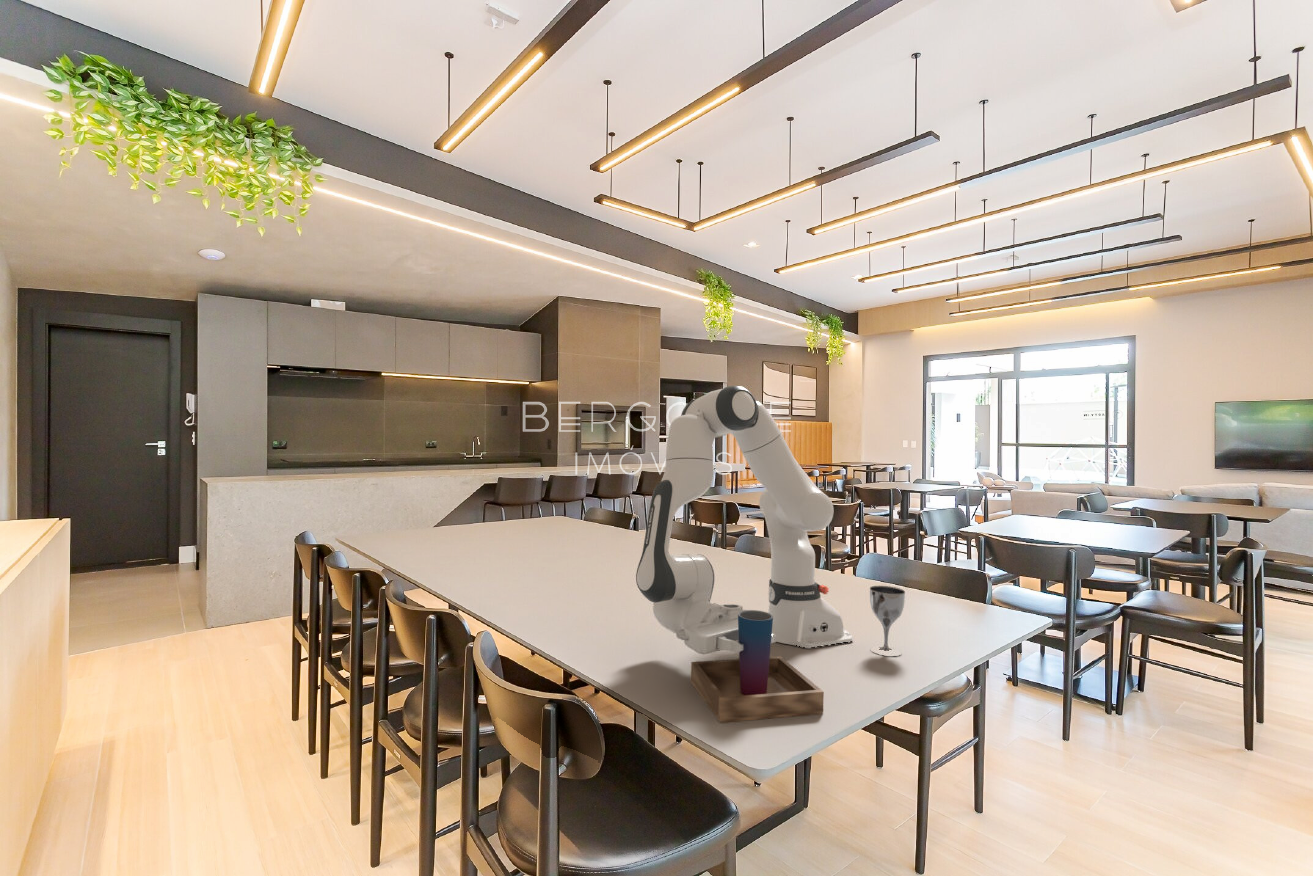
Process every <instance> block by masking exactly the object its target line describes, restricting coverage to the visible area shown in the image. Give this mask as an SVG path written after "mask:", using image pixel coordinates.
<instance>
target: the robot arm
mask: <svg viewBox="0 0 1313 876" xmlns="http://www.w3.org/2000/svg"><path fill="white" fill-rule="evenodd" d="M729 434H731V435H732V437H734V439H735V440H736V442H737V445H738V447H739V450H740V451H741V453H742V455H743V457H744V459H745V461H746V463H747V464H748V467H749V469H750V470H751V472H752V475H754V478H755V479H756V480H757V481H758V482H759V483H760V484H761V485H762V486H763V487H764V488H765V489H764V490H763V492H762V493H761V494H760V497H759V500H758V502H759V503H758V504H759V509H760V512H761V513H762V515H763V517H764V519H765V524H766V528H767V534H768V538H769V543H770V555H771V556H770V579H769V581H768V602H769V604H768V611H767V613H770V614H772V615H773V625H772V637H771V645H772V644H775V643H781V644H784V645H785V644H786V645H790V646H791V645H792V646H796V645H797V646H796V647H799V646H800V647H799V648H803V647H805V648H804V649H812V648H811V647H815V648H818V647H817V646H821V645H828V646H830V645H829V644H835V645H837V644H836V643H841V642H848V643H850V642H849V641H852V642H854V641H853V635H852V633H850V632H849V631H848V630H847V629H844V623H843V618H842V616H841V614H840V612H839V611H838V610H837V609H835V607H834V606H832V605H831V604H830V603H828V602H827V601H826V600H825V599H824V598H822V595H821V594H823V595H828V593H829V591H830V590H829V589H830V588H829V587H828V586H826V585H823V584H819V583H817V582H816V581H815V580H816V579H815V577H816V572H815V571H816V553H815V549H814V548H813V546H812V544H811V542H810V539H809V535H808V532H816V531H822V530H824V529H826V528H827V527H828V526H829V525H830V524H831V522H832V520H833V518H834V513H835V512H834V511H835V510H834V503H833V502H832V499H831V498H830V497H829V496H828V495H827V494H826V493H824V492H823V491H822V490H821V489H820V488H819V487H818V486H817V485H816V484H815V483H814V481H813V480H812V479H811V478H810V476H809V475H808V474H807V473H806V472H805V470H804V469H803V468H802V467H801V465H800V463H799V462H798V461H797V460H796V458H795V456H794V455H793V453H792V451H791V449H790V447H789V445H788V444H787V441H786V439H785V438H784V436H783V434H782V431H781V430H780V428H779V426H778V425H777V423H776V421H775V419H774V418H773V417H772V415H771V414H770V412H769V411H768V410H767V408H766V406H764V404H763V403H761V402H760V401H758V400H756V398H755V396H754V395H753V394H752V393H751V391H749V390H748V389H747V388H745V387H744V386H742V385H741V386H739V385H729V386H725V387H724V388H719V389H716V390H712V391H710V392H707V393H705V394H704V395H702V396H700V397H698V398H694V399H692V400H691V401H689V402H688V403H687V404H686V405H685V406H684V408H683V410H682V412H681V414H680V416H678V417H675V418H674V419H673V420H672V422H671V424H670V425H669V430H668V435H667V441H666V450H665V467H664V473H663V475H662V478H661V481H659V482H658V483H657V484H656V485H655V487H654V489H653V492H652V495H651V500H650V504H649V510H648V517H647V523H646V529H645V535H644V542H643V545H642V547H643V548H642V552H641V556H640V560H639V561H638V564H637V565H638V566H637V569H636V573H635V581H636V585H637V588H638V590H639V591H640V593H641V594H642V596H643V597H644V598H646V599H647V600H648V601H650V602H651V603H653V606H652V611H653V615H654V618H655V620H657V622H658V623H659V624H660V626H661V627H664V628H665V629H666V630H669V631H670V632H672V633H674V634H675V635H676V638H677V639H679V640H681V641H684V642H683V643H684V646H686V647H688V648H689V649H691V650H693V651H694V652H696V653H698V654H701V655H709V654H712V653H716V652H720V651H727V652H728V651H729V652H734V653H736V654H739V653H740V652H743V651H744V643H743V642H740V641H739V632H738V613H739V612H741V611H745V610H746V609H744V608H743V605H740V604H720V603H715V602H713V603H711V600H712V594H713V592H714V587H715V586H714V585H715V571H714V567H713V565H712V563H711V561H709V559H708V558H707V557H706V556H704V555H703V554H699V553H697V554H696V553H694V554H693V553H692V554H691V553H689V554H687V553H685V554H684V553H682V554H670V552H669V548H670V541H671V537H672V536H671V535H672V529H673V521H674V517H675V515H676V513H677V511H678V510H679V509H680V508H681V507H683V506H684V505H687V504H689V503H691V502H692V501H695V500H697V499H699V498H701V497H702V496H704V495H705V493H707V492H708V490H709V489H710V487H711V485H712V483H713V478H714V452H713V451H714V450H713V444H714V441H715V439H716V438H720V437H723V436H726V435H729Z"/></svg>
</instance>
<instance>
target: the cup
mask: <svg viewBox="0 0 1313 876" xmlns="http://www.w3.org/2000/svg"><path fill="white" fill-rule="evenodd" d="M744 610H745V611H741V612H739V613H738V632H739V641H740V642H743V643H744V651H743V652H740V653H738V656H739V657H738V659H739V660H740V689H741V693H742V694H743V695H758V694H767V683H768V672H769V660H770V657H771V650H772V649H771V648H772V647H771V645H772V644H771V637H772V625H773V615H772V614H770V613H768V611H764V610H755V609H744Z"/></svg>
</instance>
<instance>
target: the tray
mask: <svg viewBox="0 0 1313 876" xmlns="http://www.w3.org/2000/svg"><path fill="white" fill-rule="evenodd" d="M690 682H691V683H692V685H693V687H694V688H695V690H696V691H697V692H698V693H699V695H700V697H701V698H702V699H703V701H704V702H705V703H706V705H707V706H708V708H709V709H710V710H711V712H712V713H713V714H714V716H715V718H716V719H717V721H718V722H719V723H720V724H722V723H723V724H724V723H733V722H734V723H735V722H745V721H754V720H755V721H756V720H757V721H758V720H767V719H768V720H769V719H776V718H777V719H778V718H779V719H780V718H788V717H791V718H792V717H799V716H810V715H811V714H813V715H822V714H821V713H823V714H824V692H825V691H824V690H822V689H821V688H819V686H817V685H816V684H815V683H814V682H813V681H812V680H810V679H809V678H808V677H806V676H805V675H804V674H803V673H801V671H799V670H798V669H797V668H795V666H793V665H792V664H791V663H790V662H788V661H787V660H786V659H785V658H783V657H782V656H770V660H769V672H768V683H767V694H758V695H743V694H742V693H741V689H740V660H739V658H736V659H735V658H734V659H733V658H732V659H730V658H729V659H718V660H716V659H715V660H704V661H703V660H701V661H691V663H690ZM811 716H812V715H811Z"/></svg>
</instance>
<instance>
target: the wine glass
mask: <svg viewBox="0 0 1313 876" xmlns="http://www.w3.org/2000/svg"><path fill="white" fill-rule="evenodd" d="M905 598H906V592H905V590H904V589H902V588H900V587H895V586H889V585H873V586H870V587H869V600H870V601H869V602H870V608H871V611H872V613H873V614H874V616H875V617H876V619H877V620H878V621H879V622H880V624H881V625H882V629H883V634H884V635H883V637H884V638H883V639H884V641H883V642H884V644H883V647H879V648H880V649H879V650H884V651H889V650H892V649H891V648H892V647H890V648H889V634H890V633H889V632H890V628H891V627H892V626H893V624H894V623H896V621H897V620H898V619H899V618H900V617H901V616H902V614H903V611H904V608H905V601H906V600H905Z"/></svg>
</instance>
